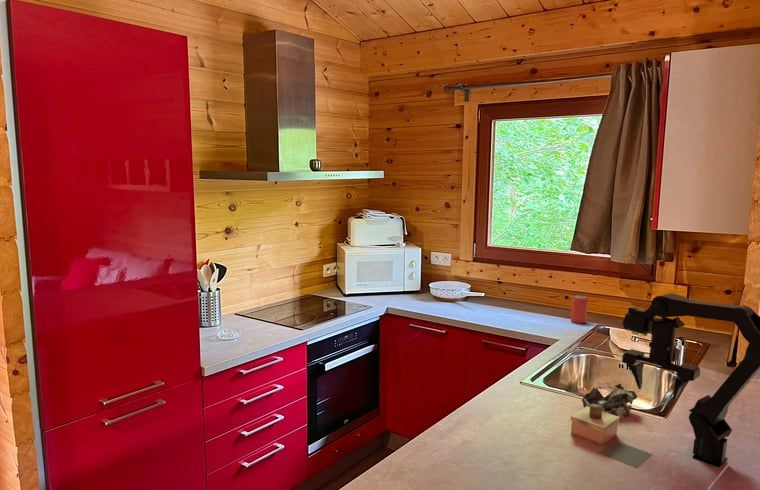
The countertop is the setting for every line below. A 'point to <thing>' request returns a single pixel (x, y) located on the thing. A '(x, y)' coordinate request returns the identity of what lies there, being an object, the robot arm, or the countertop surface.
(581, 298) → the beer can
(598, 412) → the lid
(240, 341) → the countertop surface
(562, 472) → the countertop surface
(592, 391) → the foil
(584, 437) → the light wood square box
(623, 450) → the mat
